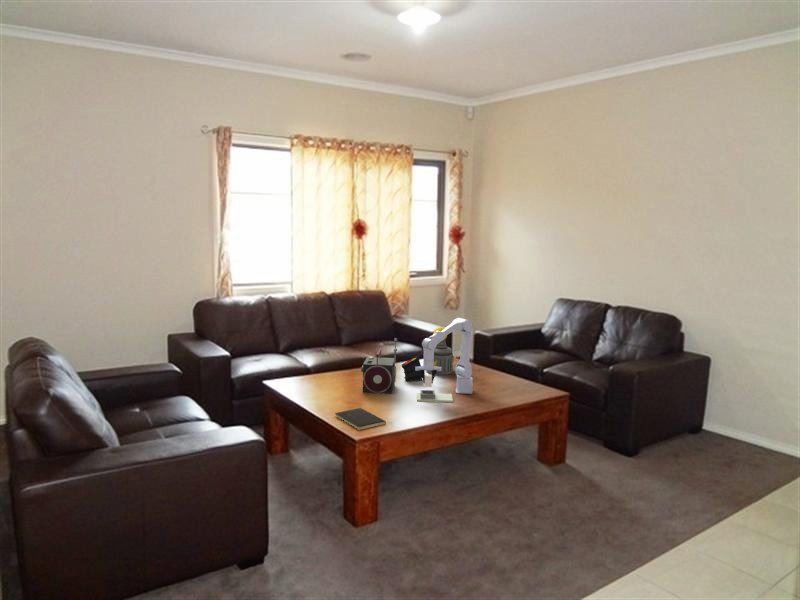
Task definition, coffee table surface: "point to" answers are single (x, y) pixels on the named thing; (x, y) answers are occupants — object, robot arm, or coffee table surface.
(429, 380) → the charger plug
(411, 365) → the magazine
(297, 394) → the coffee table surface
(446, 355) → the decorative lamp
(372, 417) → the hardcover book
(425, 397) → the plate
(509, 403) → the coffee table surface
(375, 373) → the boombox
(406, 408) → the coffee table surface
